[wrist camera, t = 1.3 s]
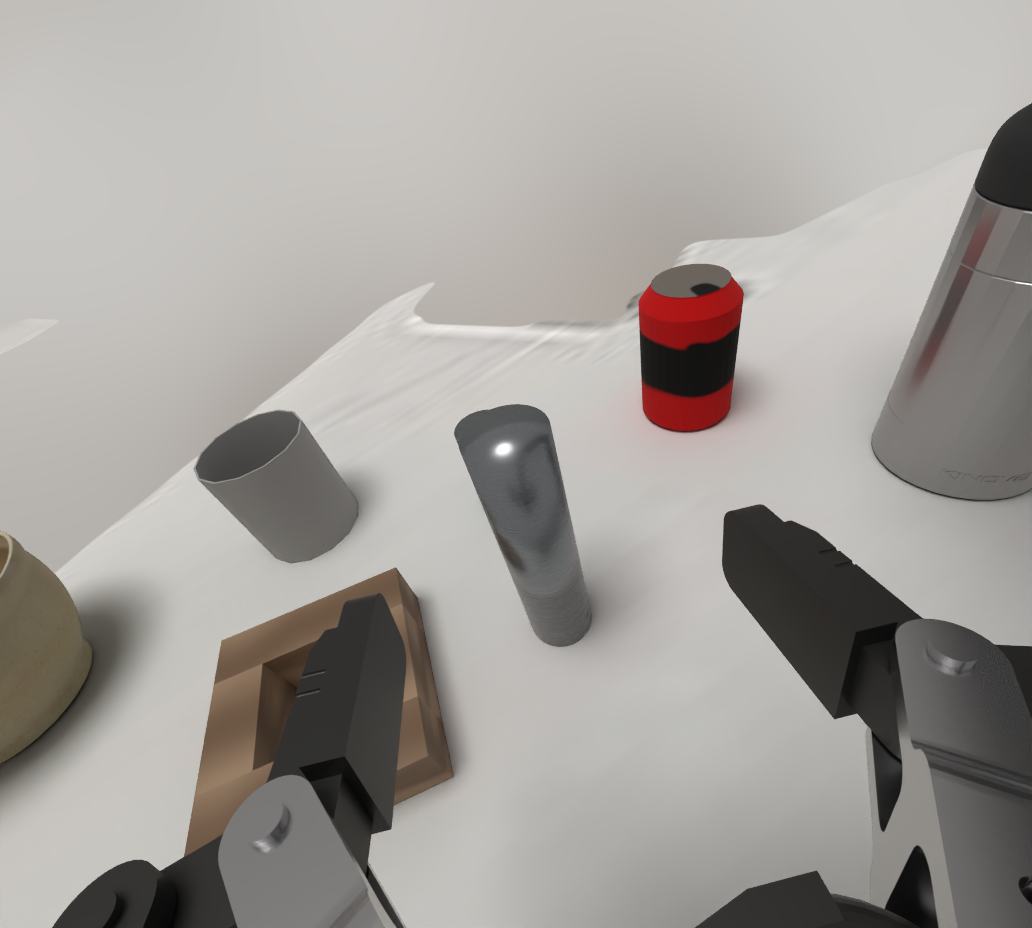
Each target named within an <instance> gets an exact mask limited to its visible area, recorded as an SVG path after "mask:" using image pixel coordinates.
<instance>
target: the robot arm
mask: <svg viewBox="0 0 1032 928" xmlns="http://www.w3.org/2000/svg"><path fill="white" fill-rule="evenodd" d="M872 447H873V450H874V453H875V454H876V456H877V457H878V459H879V460H880V461H881V462H882V463H883V464H884V465H885V466H886V467H887V468H888V469H889V470H890V471H892V472H893V473H895V474H896V475H898V476H899V477H900V478H902V479H904V480H906V481H908V482H910V483H912V484H914V485H916V486H918V487H921V488H924V489H927V490H930V491H932V492H935V493H939V494H944V495H948V496H952V497H958V498H966V499H974V500H994V499H1001V498H1009V497H1013V496H1016V495H1019V494H1022V493H1025V492H1026V491H1028V490H1030V489H1031V488H1032V104H1030V105H1028V106H1026V107H1025V108H1023V109H1021V110H1020V111H1018V112H1017V113H1016V114H1014V115H1013V116H1012V117H1010V118H1009V119H1008V120H1007V121H1006V122H1005V123H1004V124H1003V125H1002V126H1001V128H1000V129H999V130H998V132H997V133H996V135H995V137H994V138H993V140H992V142H991V144H990V146H989V148H988V150H987V152H986V155H985V157H984V160H983V162H982V165H981V167H980V170H979V172H978V175H977V178H976V180H975V183H974V185H973V188H972V190H971V193H970V195H969V198H968V200H967V202H966V205H965V207H964V210H963V212H962V215H961V217H960V220H959V222H958V225H957V227H956V230H955V232H954V235H953V237H952V239H951V243H950V245H949V248H948V250H947V253H946V255H945V258H944V260H943V263H942V265H941V267H940V270H939V272H938V275H937V277H936V280H935V282H934V285H933V287H932V290H931V292H930V295H929V297H928V300H927V302H926V304H925V307H924V309H923V312H922V314H921V317H920V319H919V322H918V324H917V327H916V329H915V332H914V334H913V337H912V339H911V341H910V344H909V346H908V349H907V351H906V354H905V356H904V359H903V361H902V364H901V366H900V369H899V371H898V373H897V376H896V378H895V381H894V383H893V386H892V388H891V390H890V392H889V395H888V397H887V400H886V402H885V405H884V407H883V410H882V412H881V415H880V417H879V420H878V422H877V425H876V427H875V429H874V432H873V434H872ZM722 566H723V571H724V575H725V577H726V580H727V582H728V584H729V586H730V588H731V589H732V590H733V592H734V593H735V594H736V595H737V597H738V598H739V599H740V601H741V602H742V603H743V604H744V606H745V607H746V608H747V609H748V611H749V612H750V613H751V614H752V616H753V617H754V618H755V619H756V621H757V622H758V623H759V625H760V626H761V627H762V628H763V630H764V631H765V632H766V633H767V635H768V636H769V637H770V638H771V640H772V641H773V642H774V643H775V645H776V646H777V647H778V649H779V650H780V651H781V652H782V654H783V655H784V656H785V657H786V659H787V660H788V661H789V662H790V664H791V665H792V666H793V667H794V669H795V670H796V671H797V673H798V674H799V675H800V676H801V678H802V679H803V680H804V681H805V683H806V684H807V685H808V686H809V688H810V689H811V690H812V691H813V693H814V694H815V695H816V697H817V698H818V699H819V700H820V702H821V703H822V704H823V705H824V707H825V708H826V709H827V710H828V712H829V713H830V714H831V715H832V717H833V718H834V719H837V718H841V717H845V716H849V715H853V714H858V715H859V716H860V717H861V718H862V720H863V721H864V722H865V723H866V724H867V729H866V750H867V763H868V777H869V790H870V803H871V817H872V830H873V854H872V862H871V871H870V903H867V902H865V901H862V900H858V899H854V898H850V897H846V896H841V895H837V894H830V892H829V891H828V889H827V887H826V885H825V884H824V882H823V880H822V879H821V877H820V875H819V873H818V872H817V871H814V872H810V873H806V874H802V875H798V876H795V877H791V878H787V879H783V880H780V881H776V882H772V883H768V884H764V885H761V886H757V887H753V888H749V889H747V890H745V891H744V892H743V893H741V894H740V895H738V896H737V897H736V898H734V899H733V900H732V901H730V902H729V903H728V904H726V905H725V906H724V907H722V908H721V909H720V910H718V911H717V912H716V913H714V914H713V915H712V916H710V917H709V918H707V919H706V920H705V921H703V922H702V923H701V924H699V925H698V926H697V927H695V928H1032V646H1008V645H994V644H993V643H992V642H990V641H989V640H987V639H986V638H984V637H983V636H981V635H979V634H977V633H975V632H974V631H972V630H969V629H967V628H965V627H962V626H959V625H956V624H954V623H950V622H946V621H941V620H935V619H923V618H922V617H920V616H919V615H918V614H916V613H915V612H914V611H913V610H912V609H910V608H909V607H908V606H907V605H905V604H904V603H903V602H902V601H901V600H899V599H898V598H897V597H896V596H894V595H893V594H892V593H891V592H890V591H888V590H887V589H886V588H885V587H883V586H882V585H881V584H880V583H878V582H877V581H876V580H875V579H874V578H872V577H871V576H870V575H869V574H867V573H866V572H865V571H864V570H863V569H861V568H860V567H859V566H858V565H854V564H853V563H852V560H850V559H849V558H848V557H847V556H845V555H844V554H843V553H842V552H841V551H837V550H836V547H834V546H833V545H832V544H831V543H830V542H828V541H827V540H826V539H825V538H823V537H822V536H821V535H820V534H819V533H817V532H816V531H814V530H811V529H809V528H807V527H805V526H802V525H800V524H798V523H796V522H794V521H787V522H783V521H782V520H781V519H780V518H779V517H777V516H776V515H775V514H774V513H773V512H772V511H770V510H769V509H768V508H767V507H766V506H764V505H761V504H760V505H754V506H750V507H746V508H742V509H737V510H733V511H729V512H727V513H726V514H725V517H724V530H723V555H722ZM302 677H303V678H302V679H300V682H299V685H298V688H297V692H296V699H294V701H293V704H292V707H291V710H290V713H289V716H288V719H287V722H286V725H285V728H284V731H283V734H282V738H281V741H280V744H279V747H278V750H277V753H276V756H275V759H274V762H273V765H272V768H271V771H270V774H269V777H268V779H267V782H266V784H264V785H263V786H261V787H260V788H259V789H257V790H256V791H255V792H253V793H252V794H251V795H250V796H249V797H248V798H247V799H246V800H245V801H244V802H243V803H242V805H241V806H240V807H239V808H238V809H237V811H236V812H235V814H234V815H233V816H232V818H231V820H230V821H229V823H228V825H227V827H226V829H225V831H224V833H223V834H222V835H220V836H219V837H217V838H216V839H214V840H212V841H211V842H209V843H207V844H206V845H204V846H202V847H201V848H199V849H197V850H195V851H194V852H192V853H190V854H189V855H187V856H185V857H183V858H182V859H180V860H178V861H177V862H175V863H173V864H171V865H170V866H168V867H166V868H165V869H163V870H161V871H159V870H158V869H156V868H155V867H154V866H153V865H151V864H150V863H149V862H147V861H144V860H132V861H128V862H125V863H122V864H120V865H118V866H116V867H114V868H112V869H110V870H108V871H107V872H105V873H104V874H103V875H101V876H100V877H98V878H97V879H96V880H95V881H93V882H92V883H91V884H90V885H88V886H87V887H86V888H85V889H84V890H83V891H82V892H81V893H80V894H79V895H78V896H77V897H76V898H75V899H74V900H73V901H72V902H71V904H70V905H69V906H68V907H67V908H66V910H65V911H64V912H63V913H62V915H61V916H60V917H59V919H58V920H57V921H56V923H55V924H54V926H53V927H52V928H406V926H405V924H404V923H403V921H402V919H401V918H400V916H399V914H398V912H397V911H396V909H395V907H394V905H393V904H392V902H391V900H390V899H389V897H388V895H387V893H386V892H385V890H384V888H383V886H382V885H381V883H380V881H379V880H378V878H377V876H376V874H375V873H374V871H373V869H372V867H371V866H370V864H369V863H368V856H369V848H370V840H371V834H374V833H378V832H382V831H386V830H390V829H391V827H392V816H393V806H394V795H395V784H396V773H397V763H398V752H399V741H400V730H401V720H402V709H403V698H404V687H405V677H406V652H405V646H404V642H403V639H402V637H401V634H400V632H399V630H398V627H397V625H396V623H395V621H394V618H393V616H392V614H391V611H390V609H389V607H388V605H387V602H386V600H385V598H384V596H383V595H382V594H381V593H377V594H373V595H369V596H364V597H360V598H356V599H352V600H348V601H346V602H345V603H344V606H343V609H342V612H341V616H340V620H339V623H338V627H336V628H332V629H328V630H325V631H324V633H323V634H322V635H321V637H320V638H319V639H318V641H317V642H316V644H315V645H314V646H313V648H312V649H311V650H310V652H309V655H308V658H307V661H306V664H305V667H304V670H303V673H302Z"/></svg>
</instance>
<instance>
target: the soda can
mask: <svg viewBox="0 0 1032 928" xmlns="http://www.w3.org/2000/svg"><path fill="white" fill-rule="evenodd" d="M743 296H744V293H743V290H742V288H741V287H740V286H739V285H738V283H737V282H736V281H735V280H734V279H733V277H732V276H731V273H730V272H729V271H728V270H727V269H725V268H723V267H720V266H716V265H711V264H690V265H683V266H678V267H675V268H671V269H669V270H666V271H664V272H662V273H660V274H659V275H657V276H656V277H655V278H654V279H653V280H652V282H651V284H650V285H649V287H648V288H647V289H646V291H645V292H644V293H643V295H642V296H641V298H640V300H639V325H640V350H641V375H642V401H643V410H644V413H645V414H646V416H647V417H648V418H649V419H650V420H651V421H653V422H654V423H656V424H657V425H659V426H661V427H664V428H666V429H670V430H675V431H694V430H700V429H703V428H707V427H709V426H711V425H713V424H715V423H716V422H718V421H719V420H721V419H722V418H723V417H724V416H725V415H726V414H727V413H728V411H729V409H730V403H731V395H732V387H733V378H734V370H735V362H736V354H737V345H738V337H739V329H740V321H741V313H742V304H743Z"/></svg>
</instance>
